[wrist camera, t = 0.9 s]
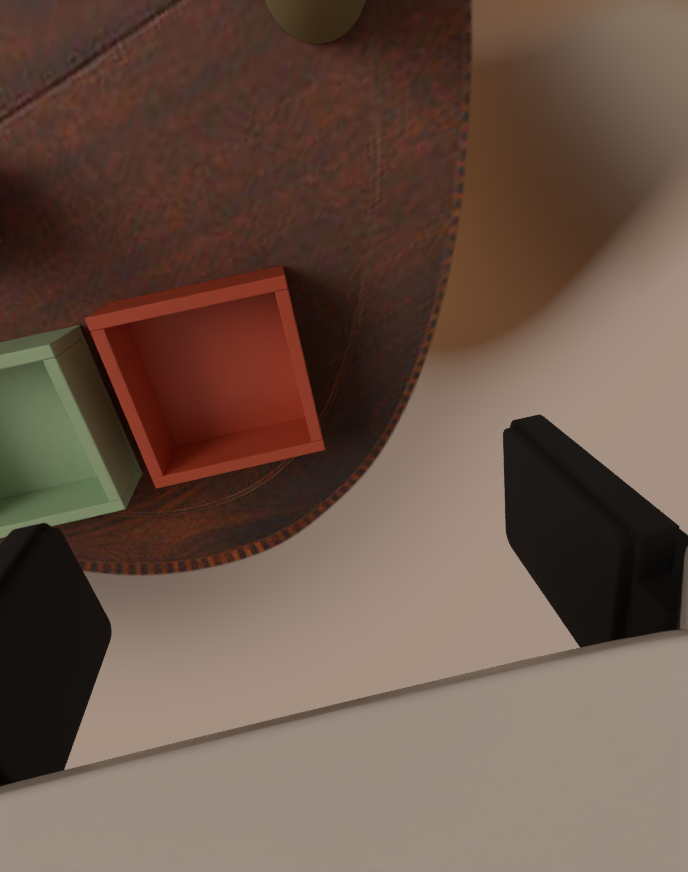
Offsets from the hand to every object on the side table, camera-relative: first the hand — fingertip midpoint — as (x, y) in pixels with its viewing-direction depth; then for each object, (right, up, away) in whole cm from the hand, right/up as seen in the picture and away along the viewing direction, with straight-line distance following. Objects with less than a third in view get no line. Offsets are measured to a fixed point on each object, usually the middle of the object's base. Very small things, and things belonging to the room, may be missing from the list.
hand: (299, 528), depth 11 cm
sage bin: (-21, +3, +25) cm, 33 cm away
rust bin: (-8, +7, +25) cm, 27 cm away
